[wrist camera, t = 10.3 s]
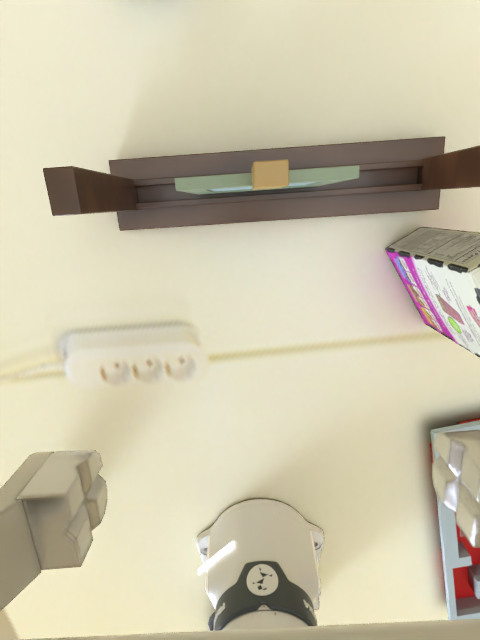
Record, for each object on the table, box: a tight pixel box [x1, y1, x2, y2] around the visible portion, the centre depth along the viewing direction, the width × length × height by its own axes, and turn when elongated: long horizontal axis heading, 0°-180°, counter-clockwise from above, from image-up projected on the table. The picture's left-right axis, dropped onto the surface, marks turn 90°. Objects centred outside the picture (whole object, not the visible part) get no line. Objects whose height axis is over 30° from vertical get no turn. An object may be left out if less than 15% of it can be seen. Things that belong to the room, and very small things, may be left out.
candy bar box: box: [385, 227, 480, 357], centre depth 35 cm, size 11×5×16 cm, turn 34°
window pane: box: [175, 159, 359, 195], centre depth 30 cm, size 1×12×18 cm, turn 94°
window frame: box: [43, 136, 480, 231], centre depth 32 cm, size 7×34×17 cm, turn 94°
